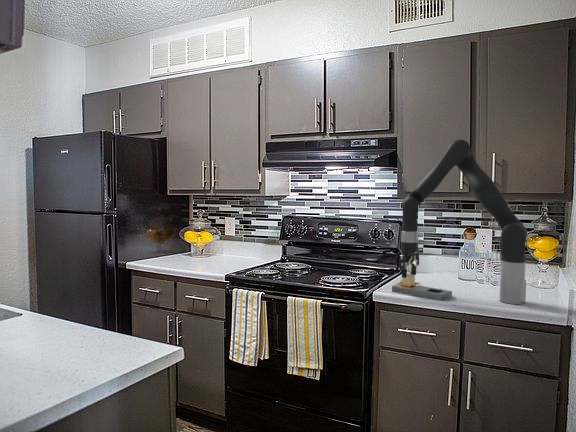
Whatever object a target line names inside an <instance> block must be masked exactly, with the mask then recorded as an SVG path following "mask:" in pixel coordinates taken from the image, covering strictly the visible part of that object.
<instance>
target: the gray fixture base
mask: <svg viewBox="0 0 576 432" xmlns="http://www.w3.org/2000/svg"><path fill="white" fill-rule="evenodd" d="M391 292H392V293H398V294H403V295H410V296H414V297H419V298H425V299H428V300H429V299H431V300H436V301H440V302H442V301H444V300H447V299H451V298H452V297H453V291H451V290H447V289H441V288H435V287H431V286H424V285H421V284H415V287H412V288H409V287H403V286H402V283H401V284H397V285H395V284H394V285H392V286H391Z"/></svg>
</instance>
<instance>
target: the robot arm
mask: <svg viewBox="0 0 576 432" xmlns="http://www.w3.org/2000/svg"><path fill="white" fill-rule="evenodd" d="M471 150H472V149H471V145H470V144H469V142H468V141H466V140H464V139H456V140H454V141H453V142H451V143H450V145H449V146H448V148H447V149H446V151H445V152H444V154H443V155H442V157H441V158H440V159H439V161H438V162H437V164H436V165H435V166H434V167H432V169H431V170H430V171H429V172H428V173H427V174H426V176H425V177H423V179H422V180H421V181H419V183H418V184H417V186H416V187H415V188H414V189H413V190H412V191H411V192H410V193H409V194H408V195H406V197H405V198H404V199H403V200H402V203H401V207H402V221H401V234H400V251H401V252H402V253H403V254H399V255H398V269H400V270H401V278H402V277H403V278H406V277H407V273H408V267H409V266H411V267H410V271H411V274H415V276H416V275H417V268H418V266H420V252H419V231H418V229H419V223H418V219H419V218H418V217H419V216H418V215H419V207H420V205H421V204H422V203H423V202H424V201H425V200H426V199H427V198H428V197H429V196H430V195H431V194H432V193H433V192H434V191H435V190H436V189H437V188H438V187H439V186H440V184H441V183H442V182H443V180H444V179H445V177H446V176H447V175H448V174H449V173H450V171H451V170H452V169H453V168H454V167H455V166H456V167H457V168H458V170H459V171H460V172H461V173H462V175H463V176H464V178H465V181H466V182H467V184H468V186H469V188H470V190H471V191H472V192H473V194H474V196H475V198H476V199H477V200H478V202H479V203H480V205H481V206H483V208H484V209H485V210H486V211H487V212H488V213H489V214H490V215H491V216H492V217H493V218H494V219H495V221H496V222H497V224H498V226H499V228H500V229H501V234H500V256H501V259H500V276H499V277H500V281H499V282H500V283H499V301H500V302H502V303H506V304H511V305H523V304H525V303H526V297H527V295H526V294H527V280H526V258H527V257H526V240H527V238H528V230H527V228H526V227H525V225H524V224H523V223H522V222H521V220H520V219H519V218H518V217H517V216H516V215H515V214H514V213H513V210H511V207H510V206H509V205H508V202H507V200H506V199H505V197H504V196H503V194H502V192H501V190H500V189H499V188H498V186H497V184H496V183H495V182H494V181H493V179H492V178H491V177H490V176H489V175H488V174H487V173H486V171H484V170H483V169H482V167H480V166H479V164H478V163H477V160H476V159H475V158H474V156H473V153H472V151H471Z"/></svg>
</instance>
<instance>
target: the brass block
mask: <svg viewBox="0 0 576 432" xmlns="http://www.w3.org/2000/svg"><path fill="white" fill-rule="evenodd" d="M401 280H402V286H403V287H409V288H412V287H415V285H416V283H415V280H416V275H415V274H410V273H408V272H407V277H406V278H403V277H402V276H401Z"/></svg>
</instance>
